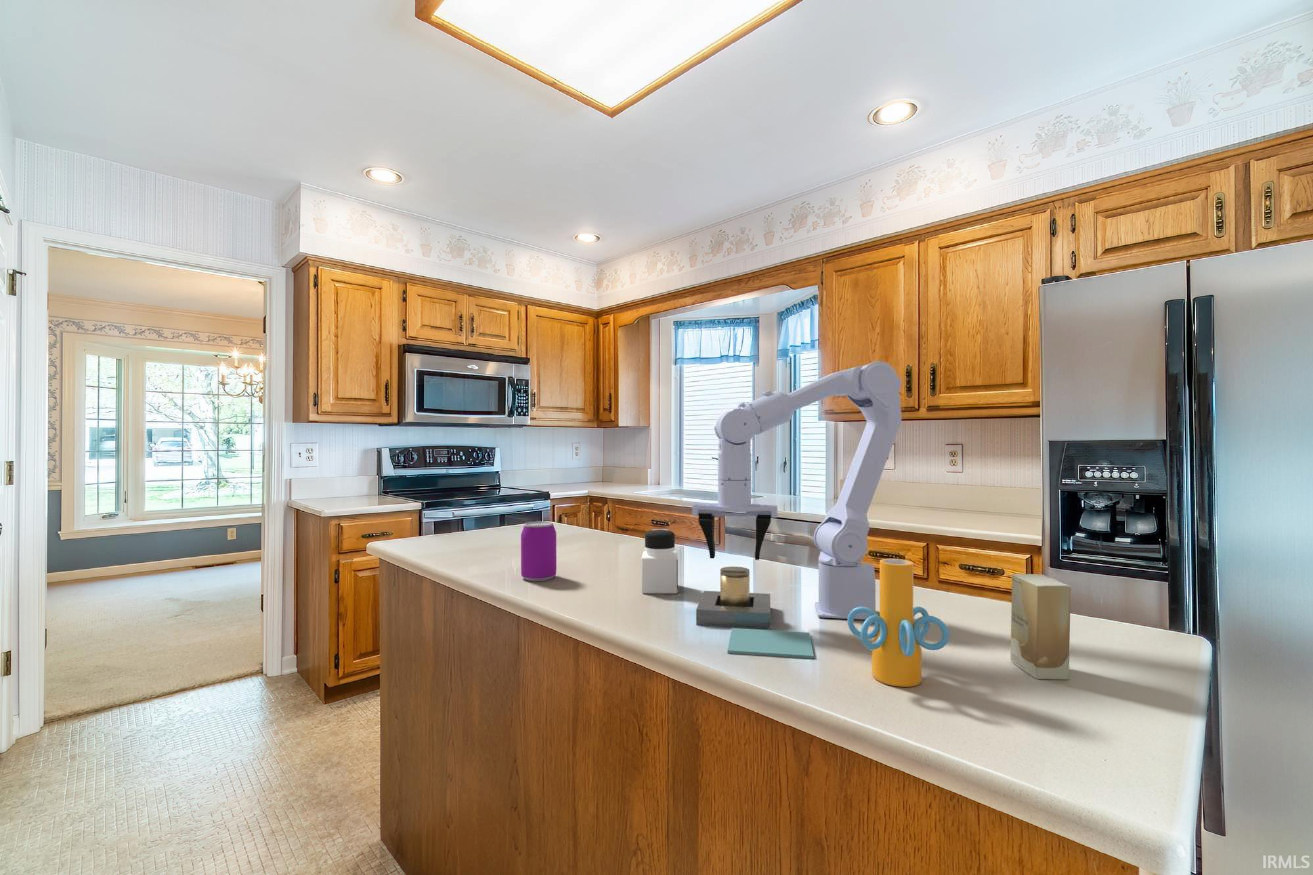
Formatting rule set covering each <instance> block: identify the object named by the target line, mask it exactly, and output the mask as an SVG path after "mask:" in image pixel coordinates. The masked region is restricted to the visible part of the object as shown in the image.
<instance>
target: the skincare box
mask: <svg viewBox="0 0 1313 875" xmlns="http://www.w3.org/2000/svg"><path fill="white" fill-rule="evenodd" d="M1071 592H1072V585H1068V584H1066V583H1064V582H1061V581H1060V580H1057V579H1055V578H1051V577H1050V576H1047V575H1044V574H1041V573H1038V574H1037V573H1033V574H1032V573H1029V574H1028V573H1020V574H1019V573H1017V574H1016V573H1013V574H1011V610H1010V611H1011V616H1010V619H1011V620H1010V621H1011V622H1010V628H1011V629H1010V662H1011V663H1013V664H1015V665H1016V666H1017V667H1018V668H1020V669H1021V670H1022V671H1024V672H1026V673H1027V674H1028V675H1029V676H1031V677H1032V678H1034V679H1035V680H1070V648H1071V647H1070V644H1071V642H1070V641H1071V639H1070V638H1071V634H1070V633H1071V598H1072V595H1071Z"/></svg>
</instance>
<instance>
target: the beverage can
mask: <svg viewBox="0 0 1313 875" xmlns="http://www.w3.org/2000/svg"><path fill="white" fill-rule="evenodd" d="M520 573H521V574H520V575H521V577H522V578H523V579H524V580H526V581H528V582H544V581H550V580H551V579H553V578H554V577H555V576H556V575H557V531H556V528H555V526H554V523H553V522H552V521H543V520H541V521H539V520H538V521H537V520H536V521H530V522H525V523H524V524H523V527H522V531H521V534H520Z"/></svg>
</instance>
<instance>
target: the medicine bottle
mask: <svg viewBox="0 0 1313 875" xmlns="http://www.w3.org/2000/svg"><path fill="white" fill-rule="evenodd" d="M675 536H676V534H675V533H674V531H672V530H670V529H665V528H664V529H663V528H662V529H661V528H660V529H659V528H658V529H656V528H655V529H651V530H648V531H646V532H645V534H644V551H643V552H642V555H641V593H642V594H643V595H648V594H649V595H652V594H653V595H654V594H655V595H657V594H658V595H661V594H662V595H675V594H676V595H677V594H678V592H679V590H678V589H679V578H678V577H679V575H678V574H679V571H678V570H679V564H678V562H679V561H678V560H679V559H678V552H677V551H676V550H675V547H676V546H675V541H676V540H675V539H676V537H675Z"/></svg>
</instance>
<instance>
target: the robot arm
mask: <svg viewBox="0 0 1313 875" xmlns="http://www.w3.org/2000/svg"><path fill="white" fill-rule="evenodd" d="M902 384H903V382H902V380H901V379H900V376H898V373H897V372H896V370H895V369H894V367H893V366H892V365H890V364H889V363H887V362H885V361H880V360H878V361H872V362H871V363H868V364H865V365H861V366H854V367H852V368H848V369H844V370H840V371H837V372H832V373H830V374H827V375H825V376H823V377H821V378H819V379H817V380H814V381H812V382H810V383H809V384H806V385H803V386H802V387H799V388H798V389H796V390H793V391H791V392H789V393H788V394H787V393H783V392H781V391H779V390H775V391H771V390H766V391H764V392H762V393H761V394H762V396H761V397H759V398H757V399H754V400H752V401H750V402H747V403H745V402H741V403H739V404H737V406H738V408H734V409H733V410H728V411H725V412H723V413H722V414H720V416H719V418H717V420H716V423H715V426H714V433H715V435H716V437H717V438H718V453H717V502H715V503H713V502H711V503H693V504H692V508H691V510H692V511H691V512H692V514H691V515H692V516H693V517H697V516H698V519H697V523H698V525H699V526H700V528H701V531H702V533H703V535H704V538H705V541H706V544H707V548H708V552H709V559H715V557H716V546H715V545H716V543H715V520H716V518H715V517H716V516H719V517H754V518H755V517H756V519H755V552H754V560H755V561H760V556H761V555H760V554H761V549H762V545H763V542H764V539H765V536H766V533H767V531H768V529H769V527H770V525H771V522H772V518H773V519H776V518H778V505H777V504H776V505H775V504H758V503H752V453H751V448H752V447H751V440H752V439H753V437H754V436H755V435H756V436H757V435H760V434H762V433H765V432H767V431H770V430H771V429H774V428H777V427H778V426H781V425H784V424H785V423H788V422H789V421H791V420H792V417H793V415H794V414H795V411H796V410H799V409H801V408H804V407H806V406H809V405H811V404H814V403H816V402H819V401H821V400H824V399H827V398H829V397H831V396H836V397H845V396H846V397H847V398H848V400H850V402H852V404H854V405H855V406H856V407H857V408H858V409H859V410H860V412H861V414H862V415H863V417H864V419H865V421H866V425H865V426H864V429H863V432H862V436H861V438H860V439H859V440H860V441H859V443H858V445H857V448H856V451H855V453H854V456H853V459H852V461H851V464H850V466H849V469H848V472H847V475H846V477H845V480H844V483H843V485H842V488H841V491H840V494H839V496H838V499H837V502H836V503H835V505H833V506H832V507H831V508H830V509H829V510H828V511H827V513H826V515H825V518H824V519H823V521H822V522H821V523H819V524H818V526H817V527H816V528H815V530H814V533H813V542H814V545H815V546H816V549H817V550H818V551H819V555H818V601H815V602H814V606H815V610H816V614H817V617H818V618H829V619H848V615H849V613H850V612H851V611H852V610H853V609H854V608H856V607H867V608H870V609H872V610H873V611H874V612H875V613H876V614H877V610H876V608H877V607H876V602H877V601H876V574H875V567H874V564H872V563H869V562H867V563H866V562H862V560H863V559H864V558H865V556H866V555H867V551H868V534H869V530H870V527H871V526H870V524H869V523H870V522H869V520H868V519H869V518H868V511H869V508H870V506H871V502H872V500H873V498H874V495H875V493H876V490H877V487H878V485H879V482H880V480H881V476H882V474H883V471H884V470H885V466H886V463H887V461H888V458H889V455H890V452H891V450H892V447H893V445H894V442H895V439H896V437H897V435H898V432H899V428H900V427H901V426H900V425H901V424H902V419H903V417H902V407H901V397H900V390H901V387H902ZM868 617H870V615H869V614H867V613H858V614H857V615H856V616H855V617H854V620H864V621H865V620H866V619H867V618H868Z"/></svg>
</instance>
